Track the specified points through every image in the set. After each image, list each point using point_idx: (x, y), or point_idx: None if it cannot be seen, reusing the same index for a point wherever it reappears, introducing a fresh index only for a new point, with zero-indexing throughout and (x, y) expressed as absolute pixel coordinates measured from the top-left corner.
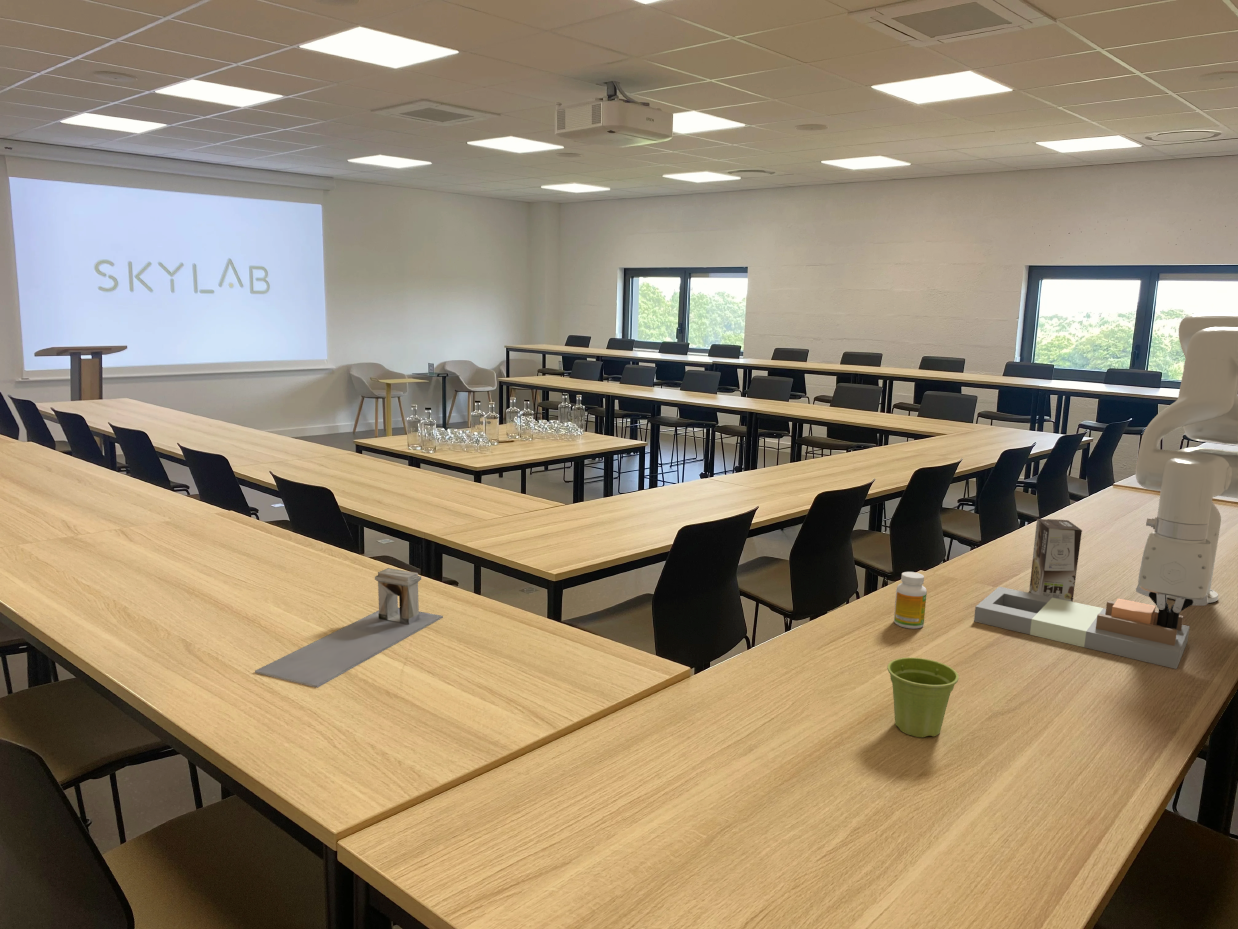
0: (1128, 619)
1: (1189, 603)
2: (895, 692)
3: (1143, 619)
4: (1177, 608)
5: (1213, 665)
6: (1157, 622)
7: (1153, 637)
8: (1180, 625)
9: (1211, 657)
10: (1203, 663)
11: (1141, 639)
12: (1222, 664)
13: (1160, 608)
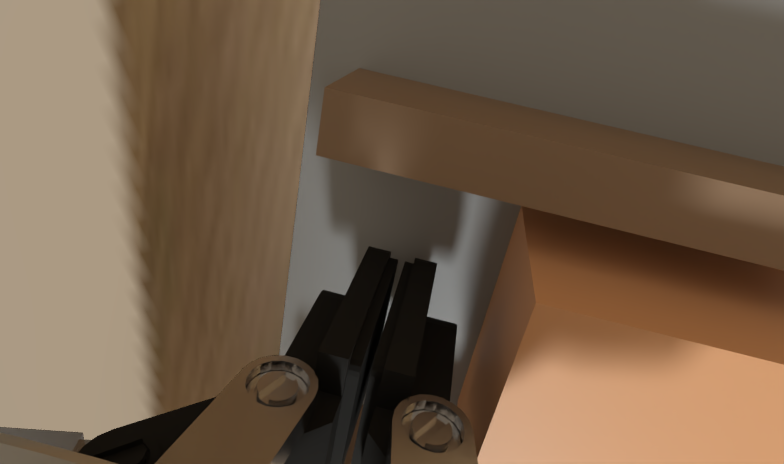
0: (710, 297)
1: (114, 442)
2: None
3: (591, 280)
4: (270, 398)
5: (184, 131)
6: (452, 330)
7: (506, 110)
8: None
9: (199, 249)
10: (228, 137)
11: (595, 95)
12: (149, 171)
13: (436, 413)
